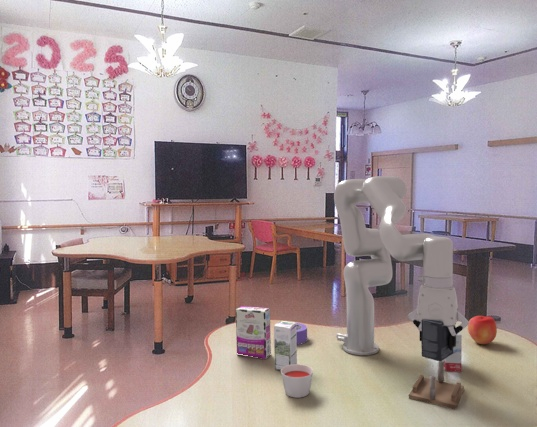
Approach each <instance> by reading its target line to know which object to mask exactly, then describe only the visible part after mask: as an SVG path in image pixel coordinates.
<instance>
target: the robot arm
mask: <svg viewBox="0 0 537 427" xmlns="http://www.w3.org/2000/svg"><path fill="white" fill-rule="evenodd" d="M407 191H408V190H407V184H406V183H405V181H404V179H402V178H401V177H399V176H397V175H387V176H386V175H378V176H377V175H376V176H372V177H370V178H365V179H364V178H356V179H355V178H353V179H345V180H342V181H340V182H339V183H338V184H337V185H336V187H335V189H334V192H333V201H334V202H333V203H334V206H335V210H336V211H337V214H338V218H339V221H340V228H341V229H340V230H341V236H342V244H343V247H344V252H345V254H346V255H348V256H350V257H367V256H368V257H369V256H370V258H371V259H359V260H358V259H357V260H352V261H350V262H348V263H347V264H346V265H345V266H344V268H343V279H344V285H345V292H346V333H345V334H343V333H339V332H338V333H336V340H337V341H339V342H343V343H342V347H341V348H342V350H343V351H344V352H346V353H348V354H351V355H356V356H370V355H371V356H372V355H374V354H377V353H378V352H379V350H380V347H379V345H378V344H377V343H375V299H374V297H373V295H372V293H371V292H370V290H369V288H372V287H377V286H379V287H380V286H385V285H388V284H389V283H391V281H392V280H393V279H392V278H393V275H394V274H393V265H392V264H393V263H392V258H393V259H395V260H396V261H399V262H410V261H423V264H422V265H423V267H422V271H423V272H422V275H419V276H417V281H418V282H421V283H422V284H421V285H420V286H419V289H418V297H417V306H416V308H415V309H414V310H412V311H411V312H409V313H408V314H407V317H408V319H409V320H410V321H412V323H413V325H414V326H415V327H416V328H417V329H418V331H419V342H421V346H422V321H421V320H422V319H426V320H434V321H441V322H444V326H448V328H449V330H450V335H449V349H450V350H452V349H453V348H454V347H456V334H458V333H459V332H460V333H461V332H462V331H463V330H464V329H465V328H467V327H468V324H469V321H470V320H468V319H467V318H466V317H465V316H464V315H463V314H462V313H461V312H460V311H459V306H458V297H457V291H456V287H454V286H453V284H454V282H453V279H454V277H453V273H454V272H453V267H454V266H453V264H454V242H453V240H452V239H451V238H450V237H446V236H437V235H434V234H432V233H426V232H425V233H424V232H423V233H407V234H402V233H401V232H400V231H399V229H397V227H396V226H395V225H396V224H397V223H398V222H399V221H401V220H402V219H403V218H404V216H405V215H406V212H407V205H406V204H405V202H403V200H404V198H405V197H406V196H407ZM356 204H370V206H371V207H372V208H373V210H374V211H375V213H376V214H377V215H378V217H379V218H380V222H379V228H367V226H366V222H365V221H366V220H365V217H364V216H365V215H363V213H362V211H361V209H360V208H359V207H358V206H356ZM391 257H392V258H391ZM458 320H459V321H460V322H461V323H460V324H459V325H458V326H456V324H457V322H458Z"/></svg>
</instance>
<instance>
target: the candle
mask: <svg viewBox="0 0 537 427" xmlns="http://www.w3.org/2000/svg"><path fill="white" fill-rule="evenodd" d="M280 373H281V374H280V375H281V379H282V384H283V389H284V393H285V394H286V395H287V396H288V397H291V398H297V399H299V398H304V397H306V396H308V395H309V394H310V390H311V386H312V381H313V380H312V379H313V374H314V370H313V368H312V367H311V366H309V365H306V364H299V363H297V364H292V365H287V366H285V367H283V368H282V369H281V370H280Z"/></svg>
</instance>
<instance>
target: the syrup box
mask: <svg viewBox="0 0 537 427" xmlns="http://www.w3.org/2000/svg"><path fill="white" fill-rule="evenodd" d="M296 323H297V322H293V321H286V320H285V321H284V320H280V321H277V322H276V323H275V324H274V325H273V338H274V339H273V341H274V342H273V344H274V346H273V347H274V349H273V350H274V351H273V352H274V370H277V371H281V369H282V368H283V367H285V366H287V365H292V364H298V359H297V357H298V354H297V351H298V350H297V348H298V345H297V328H296Z"/></svg>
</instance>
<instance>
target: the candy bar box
mask: <svg viewBox="0 0 537 427" xmlns="http://www.w3.org/2000/svg"><path fill="white" fill-rule="evenodd" d="M235 329H236V330H235V332H236V334H235V335H236V354H237V353H238V354H243V355H248V356H253V357H258V358H257V359H260V358H262V360H266V358H267V357H268V356H269V355H270V354H271V355H272V348H271V347H272V346H271V344H272V341H271V340H272V339H271V309H270V308H269V307H260V306H259V307H258V306H257V307H256V306H246V305H241V306H239V307H237V308H236V309H235ZM271 355H270V356H271ZM270 356H269V357H270ZM253 357H252V358H253ZM269 357H268V358H269ZM268 358H267V359H268Z"/></svg>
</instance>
